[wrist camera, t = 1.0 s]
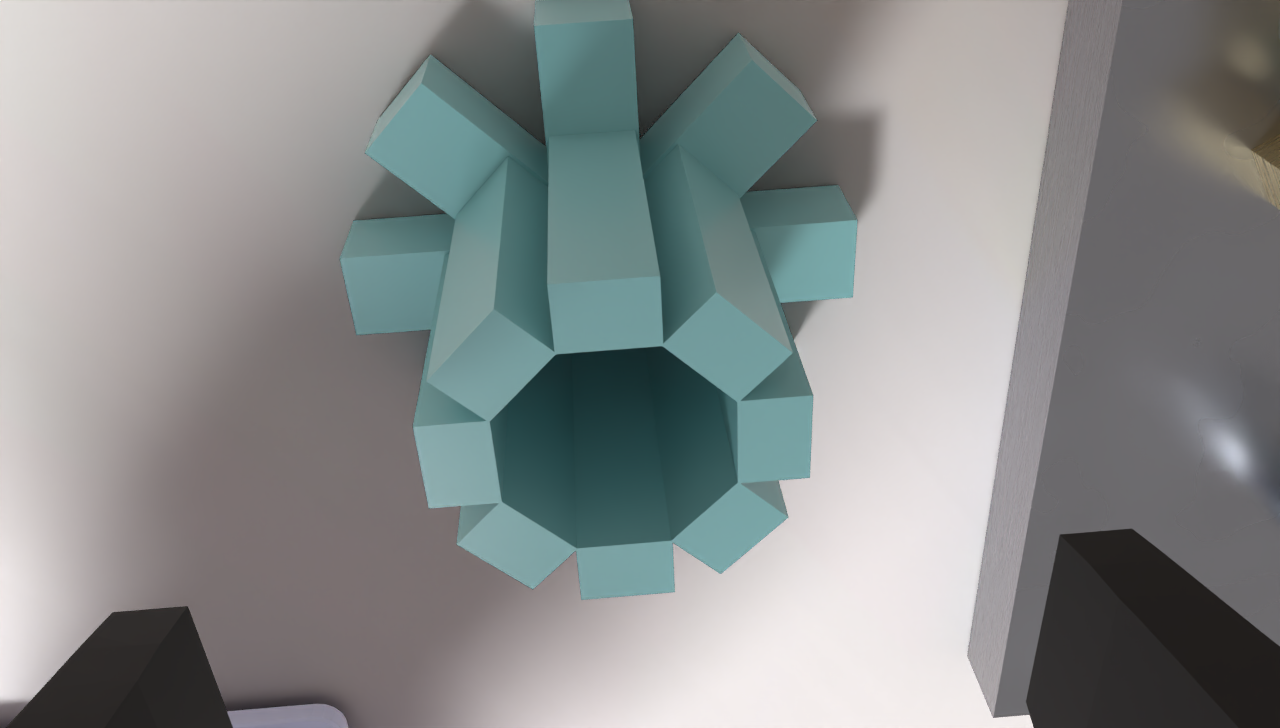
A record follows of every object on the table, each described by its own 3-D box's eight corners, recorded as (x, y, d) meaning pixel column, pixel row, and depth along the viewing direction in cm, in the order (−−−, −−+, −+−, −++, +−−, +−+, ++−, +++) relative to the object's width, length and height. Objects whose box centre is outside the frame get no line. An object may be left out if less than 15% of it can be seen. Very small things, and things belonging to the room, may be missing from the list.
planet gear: (826, 416, 18) (912, 654, 14) (400, 449, 18) (351, 701, 14) (848, -22, 14) (976, 114, 10) (310, 16, 14) (202, 171, 10)
